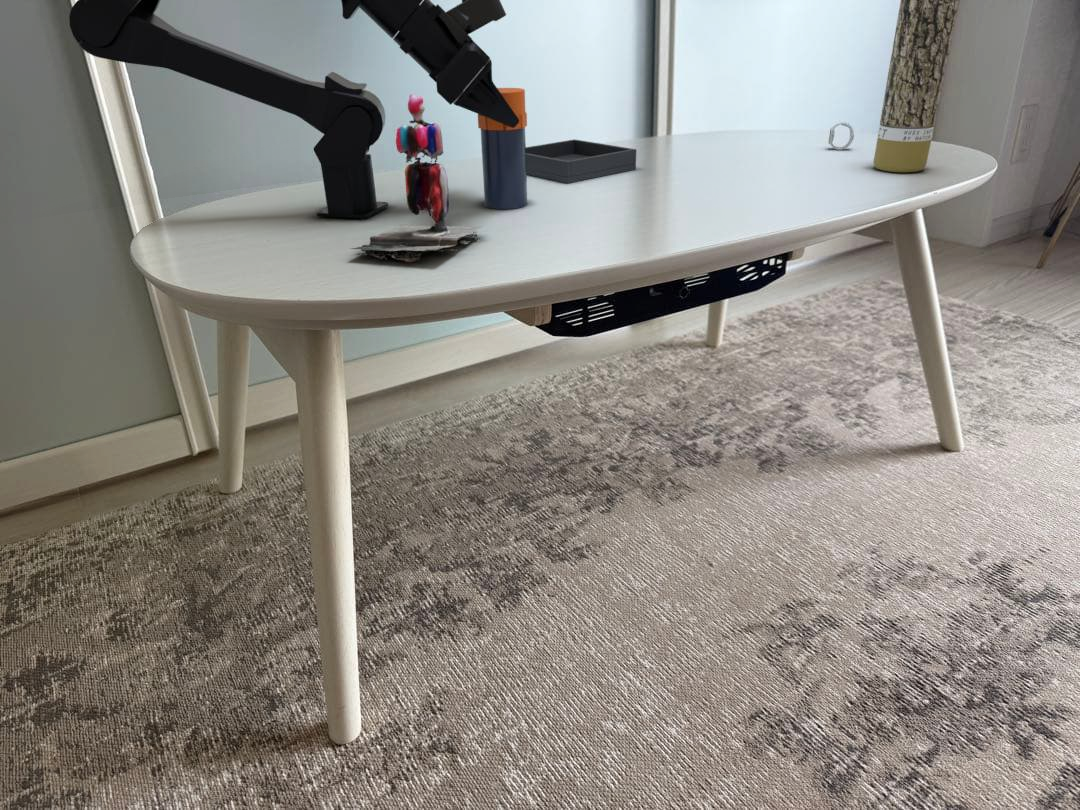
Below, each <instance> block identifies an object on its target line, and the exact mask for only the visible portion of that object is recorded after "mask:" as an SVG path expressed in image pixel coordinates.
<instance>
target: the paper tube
mask: <svg viewBox="0 0 1080 810" xmlns="http://www.w3.org/2000/svg"><path fill="white" fill-rule="evenodd" d="M959 5H960V0H900V4H899V9H898V14H897V20H896V26H895V31H894V38H893V44H892V49H891V56H890V60H889V61H890V62H889V67H888V73H887V79H886V84H885V90H884V97H883V102H882V109H881V113H880V120H879V124H878V125H879V126H878V130H877V131H878V132H877V139H876V145H875V151H874V157H873V166H874V168H875V169H877V170H879V171H884V172H889V173H902V174H903V173H905V174H906V173H916V172H921V171H922V170H924V169H925V168H926V167H927V162H928V158H929V154H930V149H931V143H932V139H933V136H934V135H933V134H934V130H935V125H936V120H937V115H938V109H939V104H940V99H941V94H942V91H943V85H944V80H945V75H946V69H947V65H948V59H949V55H950V51H951V46H952V45H951V44H952V41H953V35H954V32H955V31H954V30H955V25H956V19H957V15H958V11H959Z"/></svg>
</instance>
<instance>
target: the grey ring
mask: <svg viewBox="0 0 1080 810" xmlns="http://www.w3.org/2000/svg"><path fill="white" fill-rule="evenodd" d="M838 126H842V127H843V126H844V127H847V128H848V129H849V139H848V142H847V143H846V144H845V145H844V146H842V147H839V146H836V145H834V144H833V142H834V138H835V129H836V128H837V127H838ZM854 138H855V132H854V127H853V126H852V125H851V124H850V123H848V122H838V123H836V124H835V125H833V126H832V127H830V129H829V137H828V145H830V146H831V147H832V149H835V150H837V151H842V150H844V149H848V148H849V147H850V145H851V144H852V143H853V141H854Z"/></svg>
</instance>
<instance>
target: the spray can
mask: <svg viewBox="0 0 1080 810" xmlns="http://www.w3.org/2000/svg"><path fill="white" fill-rule="evenodd" d="M480 142H481V159H482V160H481V161H482V177H483V178H482V180H483V196H484V206H485V207H486V208H489V209H495V210H515V209H519V208H523V207H526V206H527V205H528V184H527V181H528V179H527V177H528V176H527V174H526V147H527V143H526V127H524V128H521V129H514V130H484V129H481V128H480Z"/></svg>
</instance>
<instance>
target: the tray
mask: <svg viewBox="0 0 1080 810" xmlns="http://www.w3.org/2000/svg"><path fill="white" fill-rule="evenodd" d="M634 170H637V149H636V148H631V147H626V146H625V147H624V146H619V145H612V144H606V143H599V142H593V141H588V140H582V139H581V140H580V139H569V140H563V141H556V142H549V143H544V144H538V145H532V146H526V175H528V176H532V177H536V178H537V177H538V178H542V179H546V180H552V181H555V182H558V183H559V182H560V183H564V184H570V183H575V182H582V181H585V180H590V179H591V180H592V179H595V178H601V177H605V176H610V175H611V176H612V175H615V174H620V173H626V172H629V171H634Z"/></svg>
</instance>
